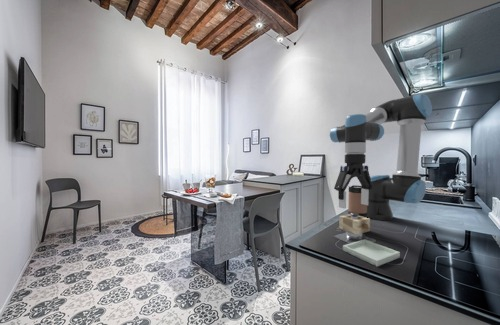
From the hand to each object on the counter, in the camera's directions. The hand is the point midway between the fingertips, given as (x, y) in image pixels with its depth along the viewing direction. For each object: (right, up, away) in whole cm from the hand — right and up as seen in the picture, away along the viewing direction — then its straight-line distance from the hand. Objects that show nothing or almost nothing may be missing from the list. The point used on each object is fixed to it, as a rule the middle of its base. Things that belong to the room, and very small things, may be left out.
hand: (353, 206), depth 85 cm
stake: (0, -14, +1) cm, 14 cm away
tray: (0, -14, -12) cm, 19 cm away
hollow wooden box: (0, -10, 0) cm, 10 cm away
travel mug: (+7, -14, +11) cm, 19 cm away
